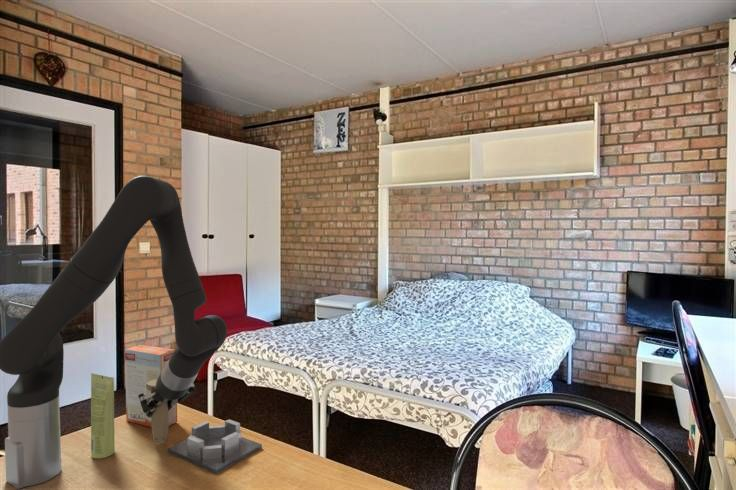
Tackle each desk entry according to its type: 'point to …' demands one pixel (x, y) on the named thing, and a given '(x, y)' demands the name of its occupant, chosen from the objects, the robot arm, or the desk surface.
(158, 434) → the handle
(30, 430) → the robot arm
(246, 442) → the octagonal fixture plate
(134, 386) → the cracker box
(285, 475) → the desk surface
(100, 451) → the tube
